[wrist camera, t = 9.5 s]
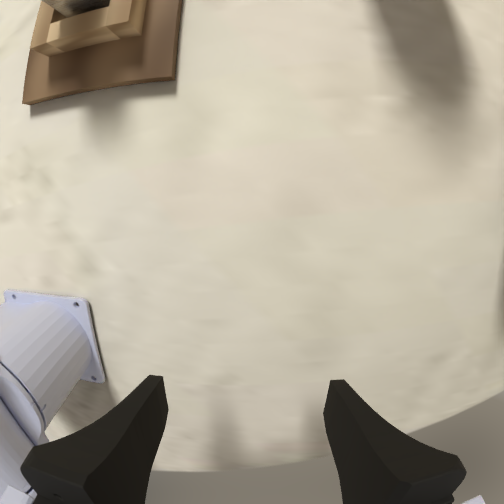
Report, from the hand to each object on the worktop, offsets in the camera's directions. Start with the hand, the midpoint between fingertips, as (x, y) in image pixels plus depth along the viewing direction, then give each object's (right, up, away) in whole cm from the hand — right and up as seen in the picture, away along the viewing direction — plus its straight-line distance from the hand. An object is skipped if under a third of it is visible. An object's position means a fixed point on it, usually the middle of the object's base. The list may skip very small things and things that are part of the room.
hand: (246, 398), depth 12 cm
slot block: (-10, +25, +3) cm, 27 cm away
